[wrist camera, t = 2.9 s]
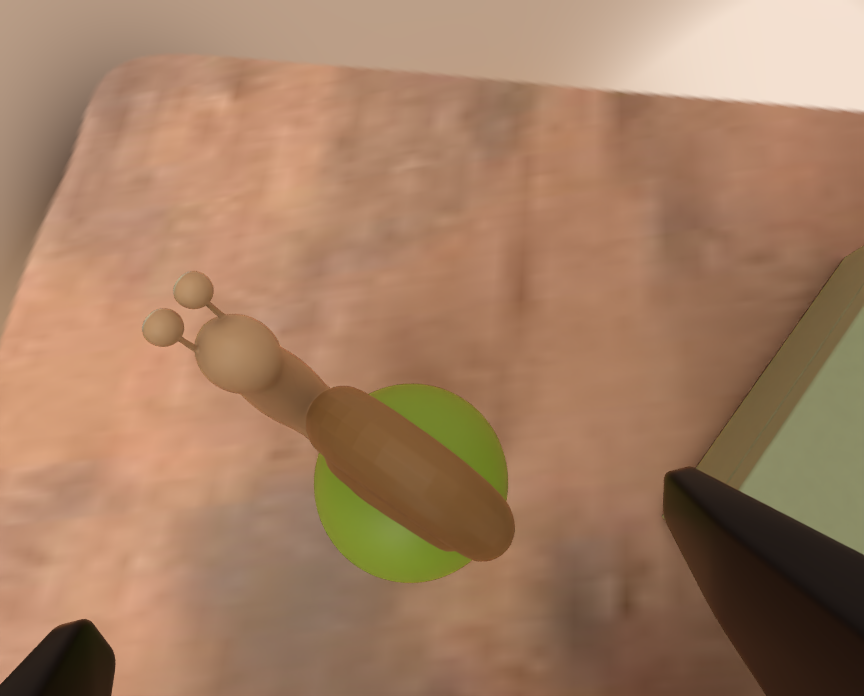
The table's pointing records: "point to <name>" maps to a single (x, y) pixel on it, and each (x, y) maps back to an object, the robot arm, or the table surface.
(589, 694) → the table surface
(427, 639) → the table surface
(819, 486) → the bench with backrest
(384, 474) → the snail figurine
